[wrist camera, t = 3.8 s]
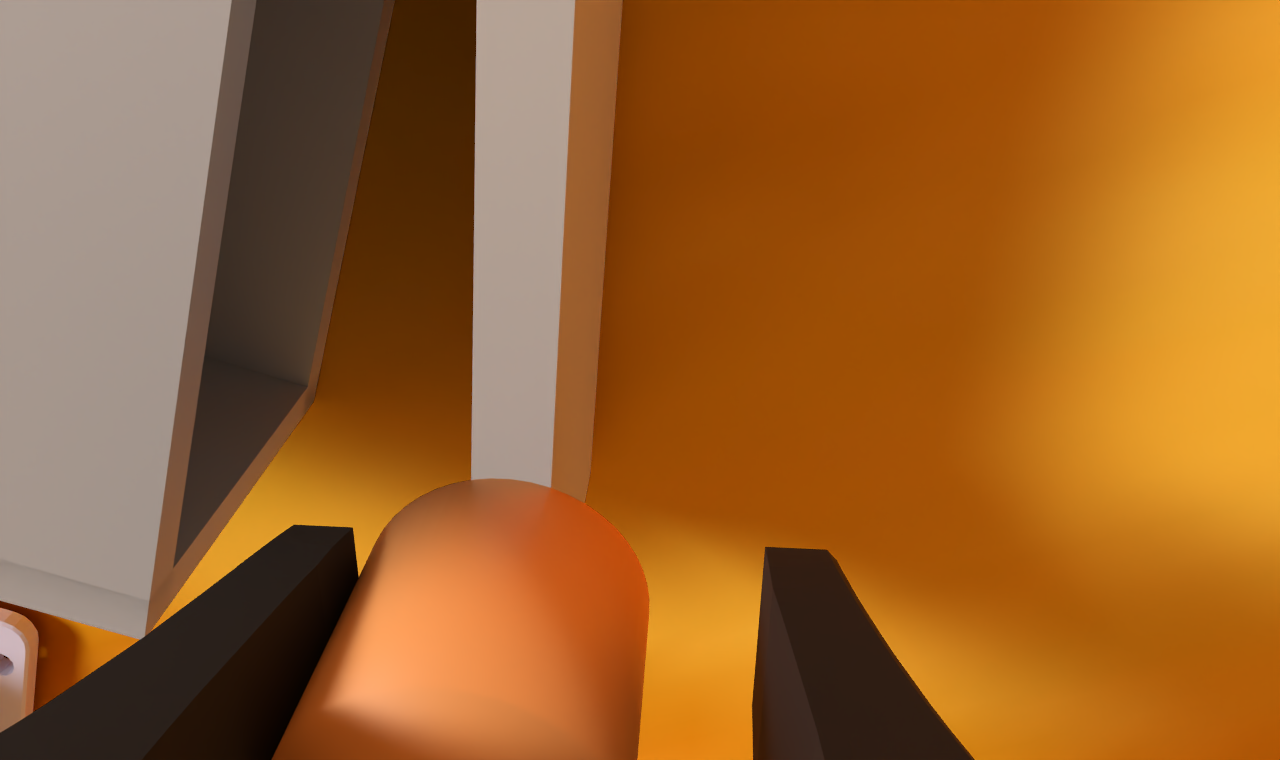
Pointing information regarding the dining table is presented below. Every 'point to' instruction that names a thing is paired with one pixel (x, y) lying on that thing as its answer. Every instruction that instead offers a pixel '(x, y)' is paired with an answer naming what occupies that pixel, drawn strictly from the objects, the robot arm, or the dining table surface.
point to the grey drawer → (509, 458)
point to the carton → (163, 274)
